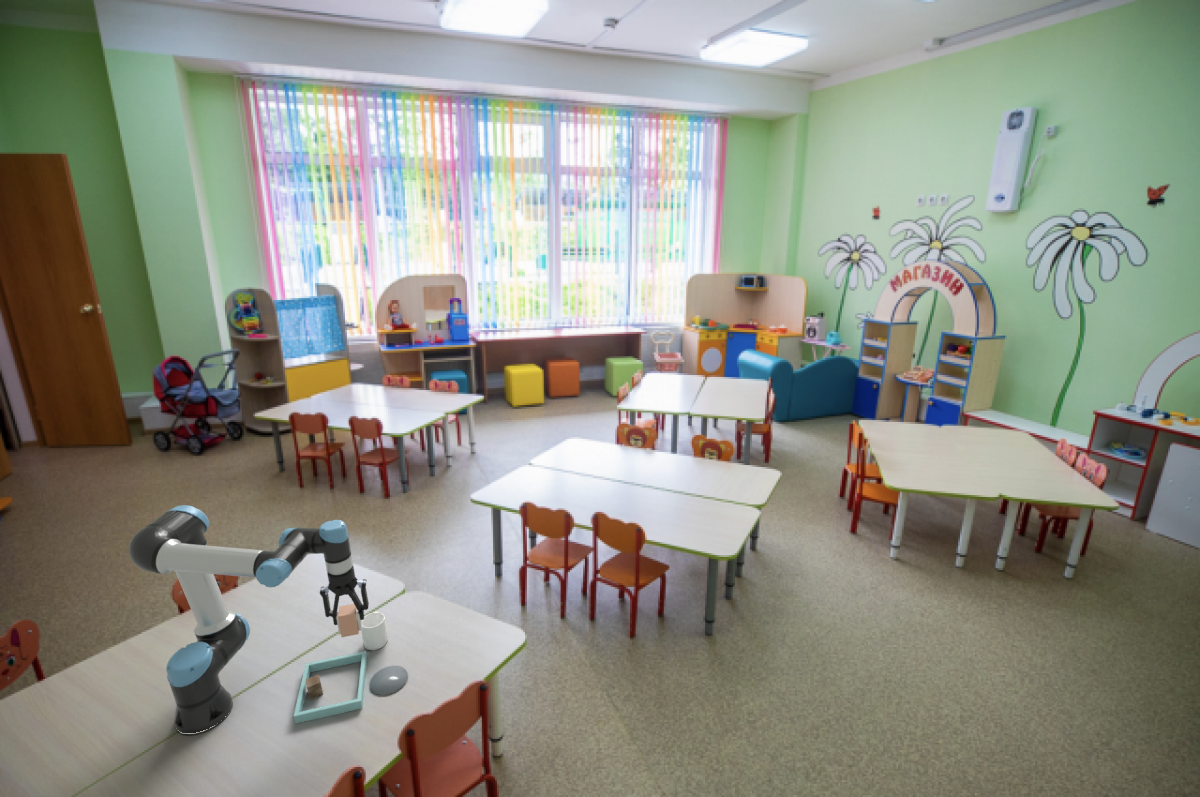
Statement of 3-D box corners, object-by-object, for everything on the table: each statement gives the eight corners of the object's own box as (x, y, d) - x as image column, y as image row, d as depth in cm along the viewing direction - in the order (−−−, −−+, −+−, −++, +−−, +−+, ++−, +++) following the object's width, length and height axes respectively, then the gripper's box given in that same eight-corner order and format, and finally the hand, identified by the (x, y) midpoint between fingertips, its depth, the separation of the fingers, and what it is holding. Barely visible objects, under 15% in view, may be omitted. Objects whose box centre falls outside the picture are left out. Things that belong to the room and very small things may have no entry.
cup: (361, 652, 205) (358, 629, 202) (368, 629, 217) (364, 607, 213) (386, 649, 207) (382, 626, 204) (391, 626, 218) (387, 604, 215)
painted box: (359, 633, 183) (355, 613, 180) (341, 637, 181) (337, 616, 179) (360, 623, 187) (356, 603, 185) (343, 626, 186) (339, 606, 183)
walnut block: (309, 699, 186) (307, 687, 184) (308, 691, 189) (305, 679, 188) (323, 694, 188) (320, 682, 186) (321, 686, 191) (318, 674, 190)
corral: (295, 723, 177) (293, 716, 176) (307, 670, 198) (305, 663, 197) (362, 708, 183) (360, 700, 182) (367, 657, 203) (366, 650, 202)
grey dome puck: (368, 698, 186) (368, 697, 186) (371, 671, 197) (371, 670, 197) (407, 689, 189) (407, 688, 189) (407, 663, 200) (407, 662, 200)
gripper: (372, 556, 183) (381, 616, 190) (309, 566, 178) (321, 627, 185) (370, 569, 176) (380, 631, 183) (305, 581, 171) (318, 643, 178)
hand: (351, 629), depth 184 cm, fingers closed on painted box, 5 cm apart
